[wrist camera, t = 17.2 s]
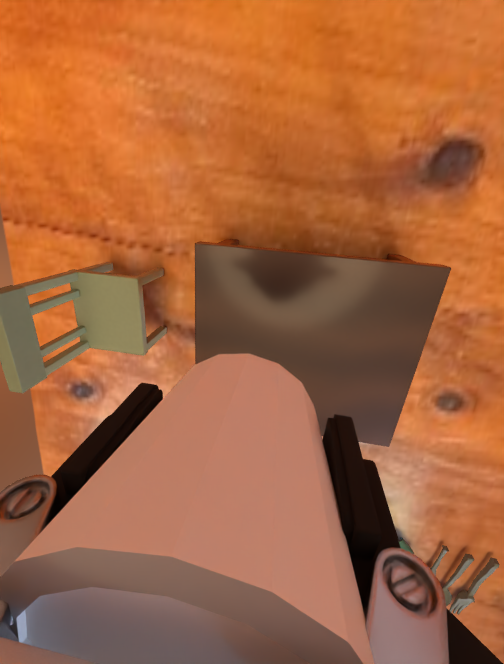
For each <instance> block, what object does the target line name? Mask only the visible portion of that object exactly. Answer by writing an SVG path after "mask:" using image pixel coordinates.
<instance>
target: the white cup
mask: <svg viewBox="0 0 504 664" xmlns="http://www.w3.org/2000/svg"><path fill="white" fill-rule="evenodd" d="M0 599H2V600H3V601H5V602H7V603H8V604H9V608H10V612H11V615H12V617H13V620H14V624H12V625H11V627H12V629H13V631H14V633H15V635H16V637H17V639H18V641H19V642H21V643H24V644H28V645H32V646H35V647H39V648H43V649H47V650H50V651H54V652H58V653H61V654H65V655H69V656H72V657H76V658H80V659H84V660H87V661H91V662H94V663H98V664H374V660H373V656H372V652H371V648H370V644H369V640H368V635H367V631H366V619H365V615H364V611H363V607H362V603H361V599H360V594H359V590H358V586H357V582H356V578H355V574H354V570H353V565H352V561H351V557H350V553H349V549H348V545H347V540H346V536H345V534H344V533H343V528H342V523H341V518H340V513H339V508H338V503H337V499H336V495H335V491H334V487H333V482H332V478H331V474H330V470H329V466H328V462H327V458H326V453H325V449H324V445H323V441H322V437H321V433H320V428H319V424H318V420H317V416H316V412H315V408H314V405H313V403H312V401H311V399H310V397H309V395H308V394H307V392H306V390H305V388H304V386H303V384H302V382H301V381H299V380H298V379H297V378H296V377H294V376H293V375H292V374H291V373H289V372H288V371H287V370H286V369H285V368H283V367H282V366H281V365H280V364H278V363H275V362H272V361H269V360H266V359H264V358H261V357H258V356H255V355H252V354H218V355H216V356H214V357H211V358H209V359H207V360H205V361H202V362H200V363H198V364H195V365H194V366H193V367H192V368H191V369H190V370H189V371H188V372H187V373H186V374H185V375H184V377H183V378H182V379H181V380H180V381H179V382H178V383H177V384H176V385H175V386H174V388H173V389H172V390H171V391H170V392H169V393H168V394H167V395H166V396H165V397H164V398H163V400H162V401H161V402H160V403H159V404H158V405H157V406H156V407H155V408H154V409H153V410H152V412H151V413H150V414H149V415H148V416H147V417H146V418H145V419H144V420H143V421H142V422H141V424H140V425H139V426H138V427H137V428H136V429H135V430H134V431H133V432H132V433H131V435H130V436H129V437H128V438H127V439H126V440H125V441H124V442H123V443H122V444H121V445H120V447H119V448H118V449H117V450H116V451H115V452H114V453H113V454H112V455H111V456H110V457H109V459H108V460H107V461H106V462H105V463H104V464H103V465H102V466H101V467H100V468H99V469H98V471H97V472H96V473H95V474H94V475H93V476H92V477H91V478H90V479H89V480H88V482H87V483H86V484H85V485H84V486H83V487H82V488H81V489H80V490H79V491H78V492H77V494H76V495H75V496H74V497H73V498H72V499H71V500H70V501H69V502H68V503H67V504H66V506H65V507H64V508H63V509H62V510H61V511H60V512H59V513H58V514H57V515H56V517H55V518H54V519H53V520H52V521H51V522H50V523H49V524H48V525H47V526H46V527H45V529H44V530H43V531H42V532H41V533H40V534H39V535H38V536H37V537H36V538H35V539H34V541H33V542H32V543H31V544H30V545H29V546H28V547H27V548H26V549H25V550H24V551H23V553H22V554H21V555H20V556H19V557H18V558H17V559H16V560H15V561H14V562H13V564H12V565H11V566H10V567H9V568H8V570H7V571H6V572H5V573H4V574H3V576H2V577H1V578H0Z"/></svg>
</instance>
